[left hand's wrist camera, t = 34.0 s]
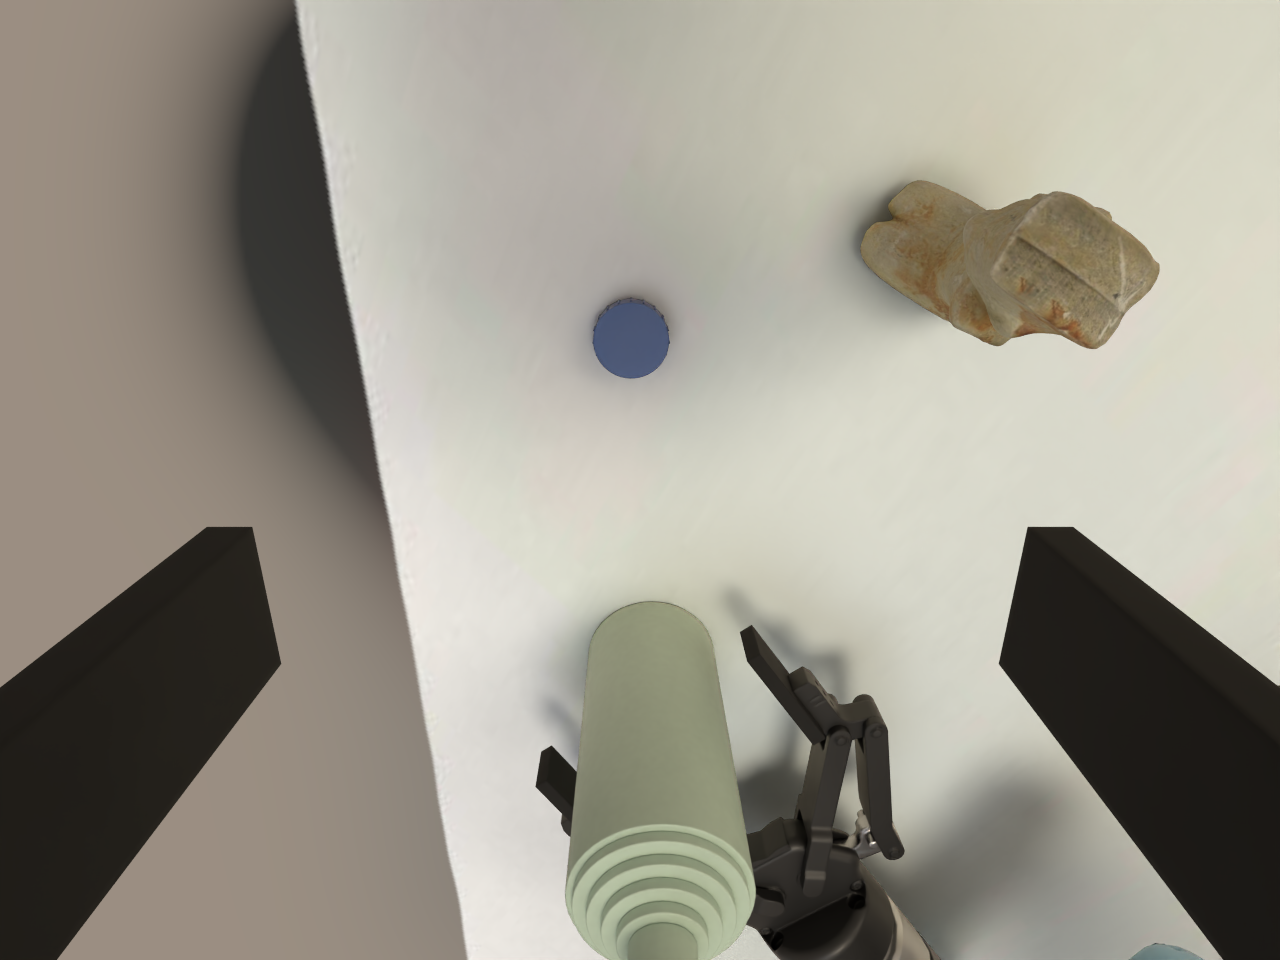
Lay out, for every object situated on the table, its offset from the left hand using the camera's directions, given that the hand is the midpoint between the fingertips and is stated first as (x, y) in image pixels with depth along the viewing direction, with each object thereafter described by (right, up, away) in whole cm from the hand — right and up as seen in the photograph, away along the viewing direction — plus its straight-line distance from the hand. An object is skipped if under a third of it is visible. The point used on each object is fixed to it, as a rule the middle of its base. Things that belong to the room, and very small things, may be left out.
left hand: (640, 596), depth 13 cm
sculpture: (+14, +13, +25) cm, 31 cm away
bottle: (+1, -9, +33) cm, 34 cm away
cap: (0, +9, +25) cm, 26 cm away
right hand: (0, -10, +27) cm, 29 cm away
